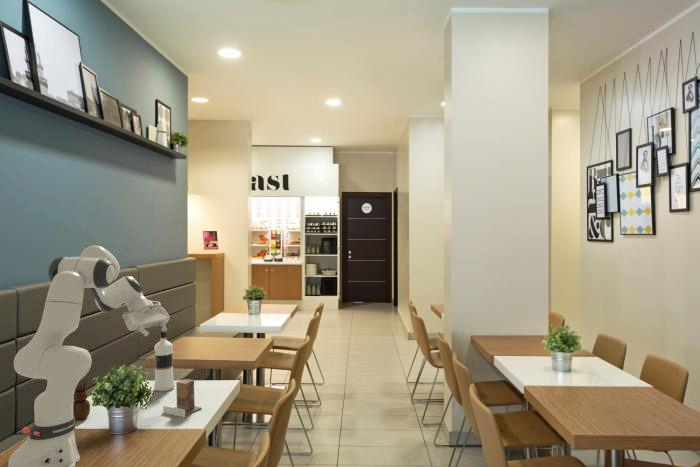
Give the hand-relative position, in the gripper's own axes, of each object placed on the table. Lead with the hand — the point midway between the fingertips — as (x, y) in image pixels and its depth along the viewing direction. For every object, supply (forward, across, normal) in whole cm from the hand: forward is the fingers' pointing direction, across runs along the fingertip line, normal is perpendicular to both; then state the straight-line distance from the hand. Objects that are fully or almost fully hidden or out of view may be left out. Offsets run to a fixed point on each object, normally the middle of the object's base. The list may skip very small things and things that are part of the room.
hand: (156, 333), depth 221 cm
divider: (+34, -6, +11) cm, 36 cm away
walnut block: (+34, 0, +10) cm, 35 cm away
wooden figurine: (+12, -26, +33) cm, 43 cm away
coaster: (+34, 0, +10) cm, 36 cm away
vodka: (+12, +16, +33) cm, 38 cm away
